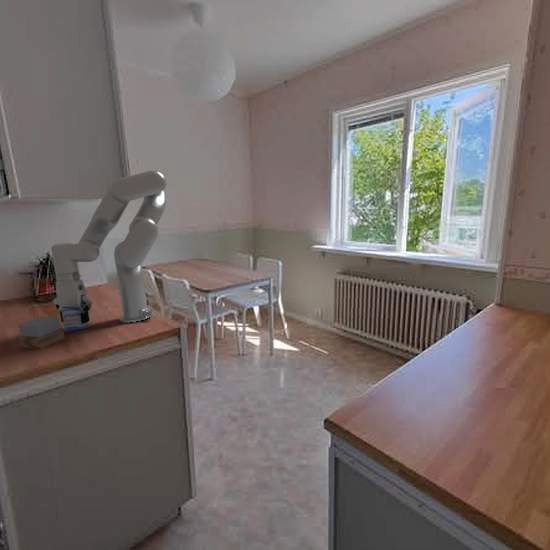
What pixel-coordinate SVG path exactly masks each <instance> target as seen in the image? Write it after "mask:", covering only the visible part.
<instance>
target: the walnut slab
mask: <svg viewBox="0 0 550 550" xmlns="http://www.w3.org/2000/svg"><path fill="white" fill-rule="evenodd" d="M18 339H19V346H20V348H27V347H30V349H38V348H40V349H39V350H42V348H43V349H45V348H47V347H49V346H52V345H54V344H55V343H57V342H60V341H63V340H65V330H64V328H61V327H60V329H59V330H57V331H54V332H52V333H49V334H47V335H45V336H42V337H27V336H21V335H19V336H18ZM44 347H45V348H44Z"/></svg>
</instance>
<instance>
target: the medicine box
mask: <svg viewBox="0 0 550 550" xmlns="http://www.w3.org/2000/svg"><path fill="white" fill-rule="evenodd" d="M82 308H83V309H84V307H82ZM80 313H82V312H81V311H80V310H79V309H78V308H69V307H65V308H62V316H63V322H62V323H63V327H64V333H70V332H75V331H79V330H85V329H89V328H90V323H89V321H88V322H86V323H84V324H83V323H82V322H81V316H80Z"/></svg>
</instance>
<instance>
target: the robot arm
mask: <svg viewBox="0 0 550 550" xmlns="http://www.w3.org/2000/svg"><path fill="white" fill-rule="evenodd" d="M166 186H167V179H166V177H165V175H164V174H163V173H162V172H160V171H158V170H154V169H153V170H147V171H145V172H140V173H137V174H133V175H128V176H127V175H126V176H123V177H119V178H116V179H115V180H113V181H111V183H110V184H109V187H107V190H106V191H105V193H104V195H103V197H102V199H101V201H100V203H99V204H98V206H97V208H96V210H95V211H94V213H93V215H92V217H91V220H90V222H89V223H88V226H87V228H86V229H85V231H84V233H83V234H82V236H81V238H80V240H79V241H78V242H77V243H71V242H70V243H69V242H65V243H63V242H62V243H56V244H53V245H52V246H51V248H50V250H51V251H50V253H51V257H52V263H53V268H54V273H55V280H56V281H55V282H56V283H55V295H56V297H55V298H54V299H52V302H53V304H54V306H55V308H56V309H57V311H58V313H59V315H60V320H61V323H64V322H63V316H62V308H65V307H69V308H78V309H79V310H80V311H81V312H82V313H80V316H81V322H82V323H83V324H84V323H86V322H88V323H89V322H90V314H89V312H90V309H91V308H92V304H93V300H91V299H89V297H88V293H87V289H86V286H85V284H84V280H83V279H81V278H82V275H81V274H80V270H79V269H80V268H79V263H92V262H94V261H96V260H97V259H98V258H99V257H100V249H101V246H102V245H103V243H104V242H105V240H106V238H107V236H108V235H109V233H111V231H113V229H115V227H116V226H117V225H118V224H119V221H120V219H121V217H122V216H123V214H124V212H125V211H126V209H127V207H128V205H129V203H130V201H135V200H138V199H142V198H143V200H142V203H141V205H140V207H139V209H138V210H137V213H136V214H135V215H134V218H133V219H132V220H131V222H130V223H129V226H128V233H127V235H126V236H125V238H124V240H123V241H121V242H119V243H118V244H116V245H115V247H114V250H113V258H114V263H115V268H116V275H117V283H118V290H119V297H120V305H121V313H122V314H121V315H120V316H119V317H118V321H119V322H121V323H124V324H127V323H129V324H131V323H130V322H133V323H137V322H136V321H139V322H142V321H141V320H144V321H146V320H145V319H147V318H149V317H150V318H151V316H152V317H153V316H154V315H155V313H156V310H155V309H150V305H147V304H148V303H147V297H146V296H147V295H146V294H147V293H146V288H145V278H144V270H143V269H144V268H143V264H142V263H143V262H144V261H145V259H146V258H147V255H148V254H149V253H150V251H151V249H152V247H153V245H155V244H154V243H155V242H156V240H157V238H158V235H159V227H158V224H159V221H160V220H161V218H162V216H163V214H164V212H165V209H166V205H167V196H166V193H165V189H166ZM82 307H84V309H83V308H82ZM150 318H149V319H150ZM147 320H148V319H147Z"/></svg>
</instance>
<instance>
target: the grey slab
mask: <svg viewBox="0 0 550 550" xmlns="http://www.w3.org/2000/svg"><path fill="white" fill-rule="evenodd" d="M18 328H19V332H20V336H27V337H42V336H45V335H47V334H49V333H52V332H54V331H57V330H59V329H60V328H61V323H60V318H59V317H50V316H49V317H48V316H47V317H46V316H45V317H44V316H39V317H35V318H34V319H31V320H28V321H26V322H23V323H21V324H18Z"/></svg>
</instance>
